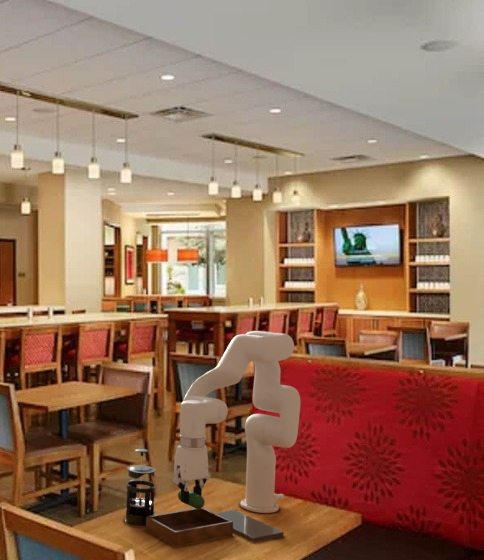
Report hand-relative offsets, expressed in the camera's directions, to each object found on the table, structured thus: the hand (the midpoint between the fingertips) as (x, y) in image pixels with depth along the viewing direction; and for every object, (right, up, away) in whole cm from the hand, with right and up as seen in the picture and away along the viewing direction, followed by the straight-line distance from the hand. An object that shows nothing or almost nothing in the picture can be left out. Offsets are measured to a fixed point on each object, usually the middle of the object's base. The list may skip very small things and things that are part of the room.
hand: (191, 501), depth 220 cm
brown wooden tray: (-1, -10, 0) cm, 10 cm away
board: (+17, -10, +6) cm, 21 cm away
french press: (-15, -9, +9) cm, 20 cm away
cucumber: (0, -1, 0) cm, 1 cm away
